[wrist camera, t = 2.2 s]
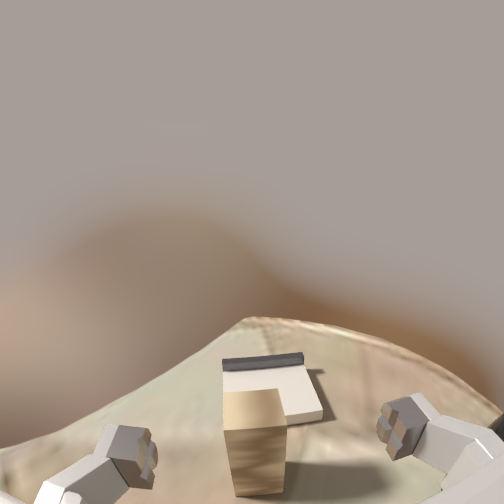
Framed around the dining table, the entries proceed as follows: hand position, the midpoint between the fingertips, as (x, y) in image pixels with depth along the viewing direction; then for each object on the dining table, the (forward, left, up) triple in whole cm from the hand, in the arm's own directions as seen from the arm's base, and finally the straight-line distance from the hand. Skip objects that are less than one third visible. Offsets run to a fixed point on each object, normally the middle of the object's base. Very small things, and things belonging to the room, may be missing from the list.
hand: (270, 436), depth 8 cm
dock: (+3, +27, -22) cm, 35 cm away
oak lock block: (0, +12, -22) cm, 25 cm away
